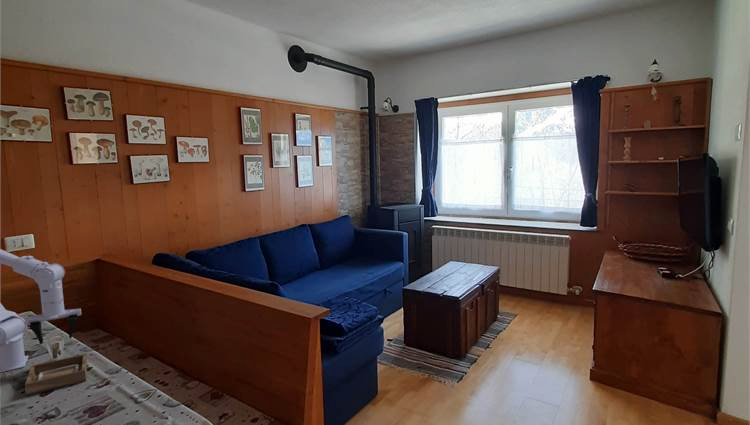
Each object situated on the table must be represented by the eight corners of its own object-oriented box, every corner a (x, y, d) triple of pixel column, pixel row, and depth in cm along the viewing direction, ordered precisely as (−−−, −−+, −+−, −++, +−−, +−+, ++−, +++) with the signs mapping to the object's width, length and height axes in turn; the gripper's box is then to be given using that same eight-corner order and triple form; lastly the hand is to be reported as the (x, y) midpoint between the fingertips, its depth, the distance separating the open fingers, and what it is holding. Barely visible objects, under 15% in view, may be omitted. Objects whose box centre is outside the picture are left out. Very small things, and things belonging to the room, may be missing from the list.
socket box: (32, 376, 124) (31, 365, 124) (87, 363, 132) (86, 353, 132) (25, 396, 113) (24, 384, 112) (85, 381, 121) (85, 370, 120)
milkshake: (58, 367, 130) (55, 338, 129) (45, 365, 131) (42, 337, 130) (71, 360, 134) (68, 333, 133) (58, 359, 135) (56, 331, 134)
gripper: (21, 308, 123) (26, 349, 124) (79, 299, 131) (82, 338, 133) (25, 302, 129) (29, 342, 130) (79, 294, 137) (83, 331, 138)
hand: (56, 339), depth 132 cm, fingers open, 7 cm apart
